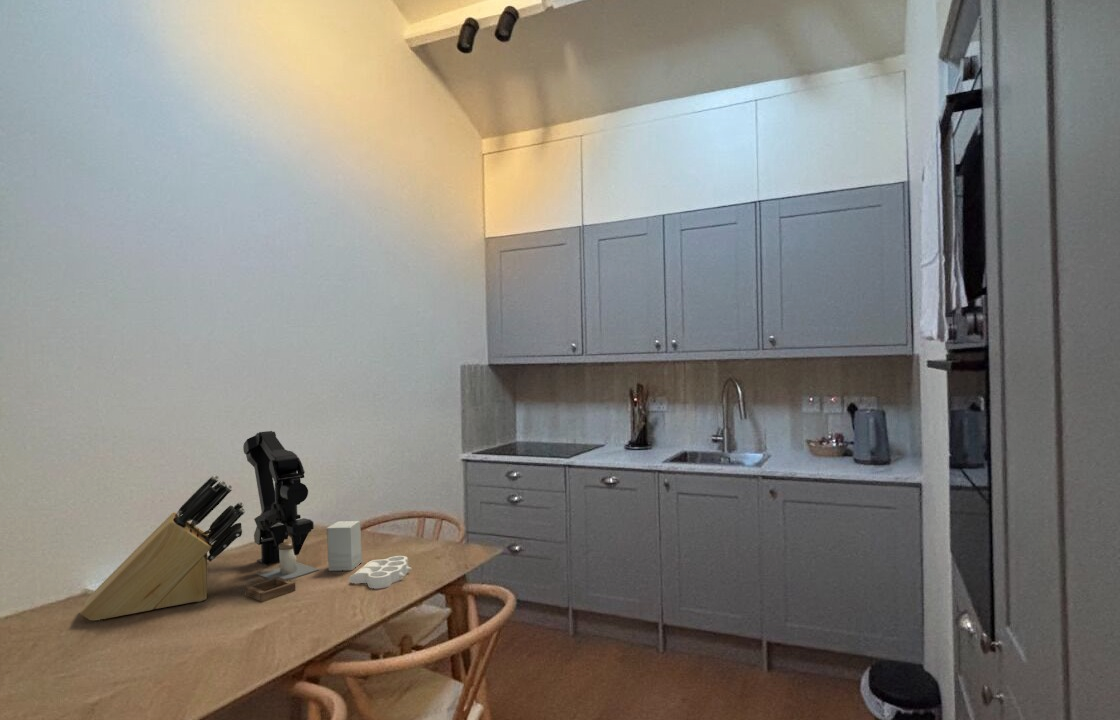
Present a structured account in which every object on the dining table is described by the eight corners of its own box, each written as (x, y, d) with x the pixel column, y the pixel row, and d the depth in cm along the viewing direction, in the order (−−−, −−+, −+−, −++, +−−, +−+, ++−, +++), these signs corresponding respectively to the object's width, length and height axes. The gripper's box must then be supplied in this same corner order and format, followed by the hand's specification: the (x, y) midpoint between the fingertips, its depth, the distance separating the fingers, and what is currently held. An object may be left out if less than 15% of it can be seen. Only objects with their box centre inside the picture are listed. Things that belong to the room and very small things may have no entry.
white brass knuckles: (371, 567, 180) (419, 567, 178) (343, 590, 162) (397, 590, 161) (371, 555, 180) (419, 555, 178) (343, 577, 162) (396, 577, 161)
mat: (257, 575, 175) (257, 574, 175) (296, 563, 185) (296, 562, 185) (279, 583, 168) (279, 581, 168) (319, 570, 177) (319, 569, 177)
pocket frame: (245, 594, 160) (245, 587, 160) (278, 584, 167) (277, 576, 167) (262, 601, 155) (262, 593, 155) (295, 590, 162) (295, 583, 162)
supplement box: (362, 562, 183) (361, 520, 183) (351, 571, 176) (350, 527, 176) (339, 562, 184) (337, 520, 184) (327, 571, 176) (325, 527, 176)
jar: (276, 572, 176) (275, 544, 176) (291, 567, 179) (290, 540, 179) (284, 575, 173) (283, 547, 173) (300, 570, 177) (299, 543, 177)
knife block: (248, 594, 160) (244, 476, 161) (79, 626, 143) (75, 494, 143) (246, 581, 170) (242, 470, 170) (88, 610, 153) (85, 486, 153)
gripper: (242, 500, 175) (243, 554, 175) (275, 508, 164) (277, 566, 164) (279, 493, 184) (281, 544, 184) (313, 499, 173) (315, 554, 173)
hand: (287, 552), depth 176 cm, fingers open, 9 cm apart
